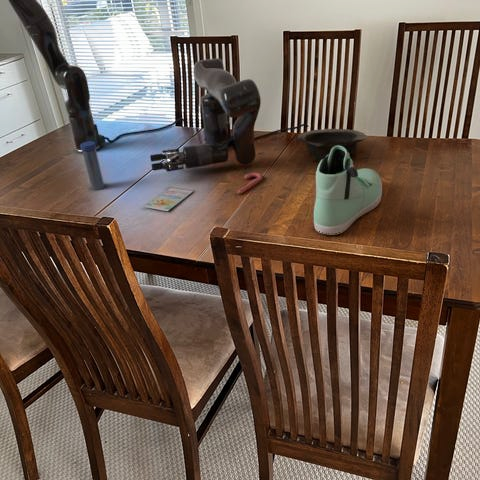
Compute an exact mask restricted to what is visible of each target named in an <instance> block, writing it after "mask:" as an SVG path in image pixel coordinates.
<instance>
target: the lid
mask: <svg viewBox="0 0 480 480" xmlns="http://www.w3.org/2000/svg"><path fill="white" fill-rule="evenodd" d="M80 147H81V150H82V151H92V150H94V149H96V145H95V142H93V141H88V142H84V143H81V144H80Z"/></svg>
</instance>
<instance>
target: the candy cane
mask: <svg viewBox="0 0 480 480" xmlns="http://www.w3.org/2000/svg"><path fill="white" fill-rule="evenodd" d="M250 178H254V179H252V180H251V181H250V182H248V183H247V184H246V185H244V186H242V187H241V188H239V189H238V190H237V191H236V194H237V195H241V194H243V193H244V192H246V191H247V190H249V189H250V188H252V187H253V186H254V185H256V184H258V183H259V182H261V181H262V180H263V174H261V173H259V172H249V173H247V174H245V175H244V180H248V179H250Z"/></svg>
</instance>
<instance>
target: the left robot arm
mask: <svg viewBox="0 0 480 480" xmlns="http://www.w3.org/2000/svg"><path fill="white" fill-rule="evenodd" d="M8 3H9V4H10V6H11V7H12V9H13V11H14V13H15V14H16V16H17V18H18V19H19V21H20V23H21V24H22V26H23V28H24V30H25V31H26V33H27V34H28V36H29V37H30V39H31V41H32V42H33V44H34V45H35V47H36V48H37V51H38V52H39V53H40V55H41V56H42V58H43V60H44V62H45V63H46V65H47V67H48V70H49V72H50V73H51V76H52V78H53V80H54V82H55V83H56V85H57V86H58V87H59V88H60V89H63V90H65V91H66V94H67V100H65V102H64V106H65V110H66V114H67V115H66V116H67V118H68V122H69V126H70V130H71V133H72V137H73V142H74V145H75V150H76V152H77V153H80V154H83V152H82V150H81V147H80V144H81V143H84V142H88V141H93V142H95V145H96V151H97V150H99V149H100V148H102V145H103V144H106V141H107V142H108V143H114V142H116V141H117V140H119V139H120V138H121V137H124V136H129V135H136V134H143V133H151V132H156V131H162V130H165V129H167V128H169V127H172V126H174V125H176V124H177V123H179V121H182V122H185V121H186V119H184V118H182V117H180V118H177V119H176V120H175V121H174V122H172V123H170V124H167V125H163V126H161V127H157V128H151V129H145V130H137V131H130V132H129V131H128V132H123V133H120V134H119V135H117V136H116V137H115V138H114V139H112V140H110V138H109V137H108V136H105V135H103V134H100V133H99V129H98V125H97V123H95V121H94V116H93V113H92V108H91V104H90V102H91V94H90V89H89V84H88V78H87V75H86V73H85V71H84V70H83V69H82V68H81V67H79V66H77V65H72V64H70V63H69V61H67V59H66V58H65V56H64V54H63V53H62V51H61V48H60V45H59V39H58V35H57V31H56V28H55V25H54V24H53V22H52V20H51V18H50V16H49V15H48V13H47V11H46V10H45V9H44V7H43V6H42V5H41V4H40V3H39V2H38V1H37V0H8Z"/></svg>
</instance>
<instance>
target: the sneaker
mask: <svg viewBox="0 0 480 480" xmlns="http://www.w3.org/2000/svg"><path fill="white" fill-rule="evenodd" d="M317 165H318V166H317V168H316V172H315V201H314V207H313V225H314V229H315V231H316V232H318V233H320V234H323V235H326V236H327V235H328V236H336V235H339V234H342V233H344V232H345V231H347V230H348V229H349V228H350V227H351V226H352V225H353V224H354V222H356V221H357V220H358V219H359V218H360V217H362V216H363V215H365V214H367V213H370V212H372V210H374V209H375V208H377V207H378V205H380V203H381V200H382V196H383V184H382V183H383V182H382V179H381V176H380V175H379V173H378V172H377V171H376V170H374V169H372V168H367V167H365V168H358V169H357V168H355V167H354V161H353V159H352V158H351V157H350V156H349V153H348V152H347V150H346V149H345V148H344V147H342V146H334V147H333V148H332V149H331V152H330V154H329V155H327V156H326V157H325V158H324V159H322V160H321V161H320V162H318V164H317ZM343 230H344V231H343ZM319 231H320V232H319ZM322 232H323V233H322ZM339 232H340V233H339ZM326 233H327V234H326ZM328 233H329V234H328ZM335 233H337V234H335Z"/></svg>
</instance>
